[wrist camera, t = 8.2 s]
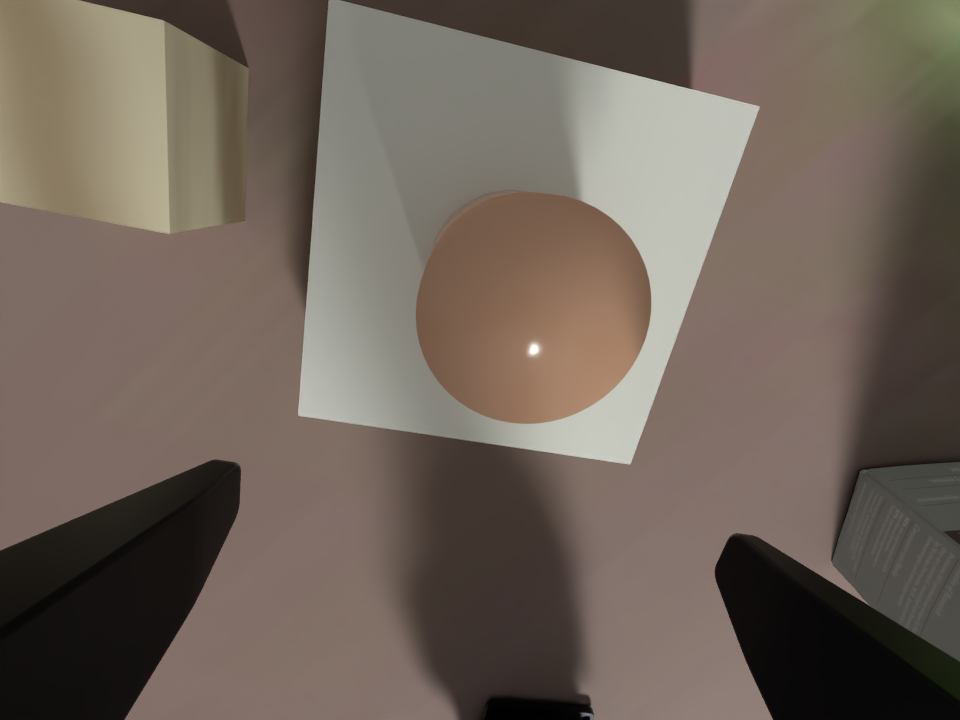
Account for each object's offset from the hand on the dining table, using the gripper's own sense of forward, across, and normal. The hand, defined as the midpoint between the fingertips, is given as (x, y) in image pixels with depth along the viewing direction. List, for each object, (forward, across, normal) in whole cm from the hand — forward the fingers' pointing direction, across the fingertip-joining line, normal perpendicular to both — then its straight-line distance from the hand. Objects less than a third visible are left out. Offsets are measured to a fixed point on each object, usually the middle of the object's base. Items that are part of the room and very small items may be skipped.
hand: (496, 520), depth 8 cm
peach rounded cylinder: (+8, 0, -3) cm, 8 cm away
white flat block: (+12, 0, -3) cm, 12 cm away
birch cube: (+12, +12, -5) cm, 17 cm away
